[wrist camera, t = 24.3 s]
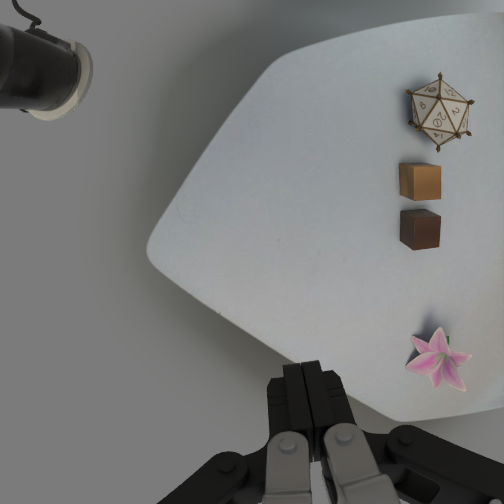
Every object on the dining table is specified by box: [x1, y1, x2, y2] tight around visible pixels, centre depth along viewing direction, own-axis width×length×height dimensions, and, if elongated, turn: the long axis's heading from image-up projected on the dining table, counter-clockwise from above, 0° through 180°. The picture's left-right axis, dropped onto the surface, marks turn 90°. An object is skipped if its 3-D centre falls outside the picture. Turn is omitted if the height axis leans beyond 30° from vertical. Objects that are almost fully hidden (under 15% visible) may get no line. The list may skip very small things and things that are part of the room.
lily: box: [406, 327, 472, 392], centre depth 41 cm, size 12×12×10 cm
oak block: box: [399, 163, 441, 201], centre depth 34 cm, size 4×4×4 cm
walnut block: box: [400, 209, 441, 250], centre depth 36 cm, size 4×4×4 cm
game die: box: [405, 72, 475, 152], centre depth 30 cm, size 9×8×10 cm
